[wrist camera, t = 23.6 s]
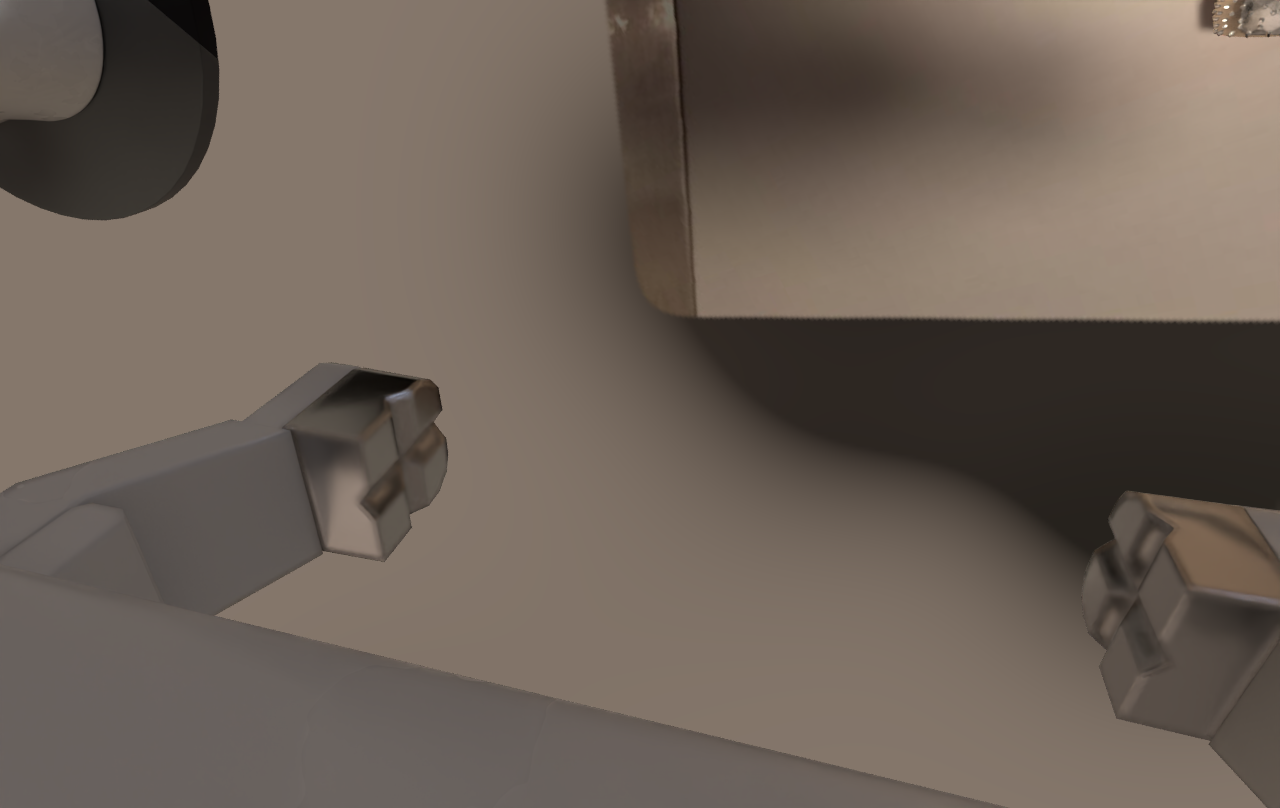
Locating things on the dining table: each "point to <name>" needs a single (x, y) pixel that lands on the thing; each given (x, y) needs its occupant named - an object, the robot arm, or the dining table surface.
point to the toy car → (1247, 18)
